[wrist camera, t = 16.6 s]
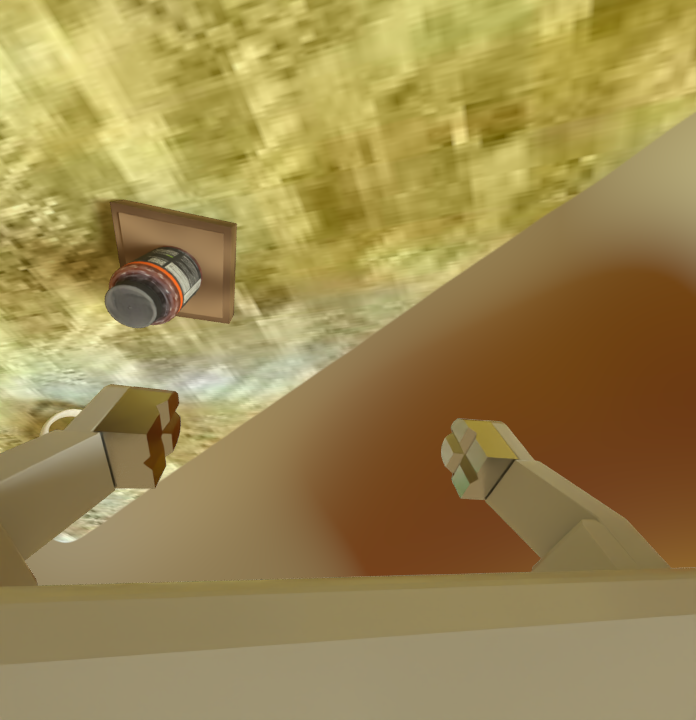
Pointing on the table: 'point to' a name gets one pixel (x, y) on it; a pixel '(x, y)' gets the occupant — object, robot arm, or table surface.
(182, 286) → the supplement bottle
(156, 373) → the table surface
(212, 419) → the table surface
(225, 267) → the brown box
